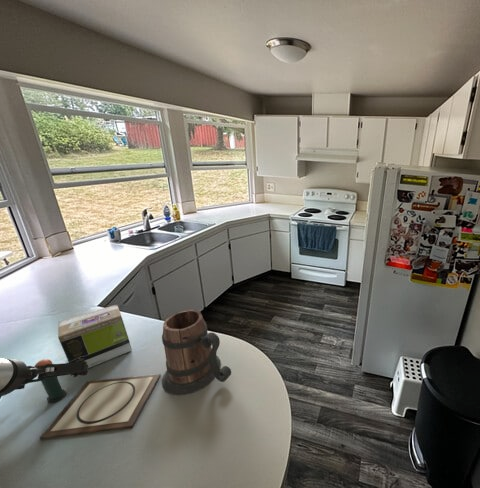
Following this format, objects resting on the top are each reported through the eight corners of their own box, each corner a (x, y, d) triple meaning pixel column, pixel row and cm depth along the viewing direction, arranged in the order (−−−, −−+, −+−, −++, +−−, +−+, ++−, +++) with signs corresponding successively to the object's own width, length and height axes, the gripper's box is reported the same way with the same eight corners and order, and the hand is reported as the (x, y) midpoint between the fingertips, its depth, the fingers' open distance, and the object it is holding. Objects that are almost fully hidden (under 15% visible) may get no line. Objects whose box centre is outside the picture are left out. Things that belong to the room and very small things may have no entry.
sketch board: (40, 440, 60) (38, 436, 60) (87, 383, 75) (86, 380, 74) (132, 427, 63) (131, 424, 63) (160, 375, 78) (160, 372, 78)
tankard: (148, 383, 75) (133, 329, 69) (194, 346, 90) (185, 298, 84) (208, 412, 68) (199, 354, 61) (248, 366, 83) (243, 315, 76)
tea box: (127, 336, 94) (117, 303, 89) (132, 351, 87) (122, 315, 82) (72, 357, 84) (57, 320, 79) (72, 375, 77) (57, 336, 72)
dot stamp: (44, 404, 68) (26, 367, 64) (55, 392, 72) (39, 356, 67) (59, 402, 69) (43, 365, 64) (69, 391, 72) (55, 355, 68)
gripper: (-109, 419, 46) (-10, 405, 65) (64, 380, 55) (108, 378, 73) (-93, 375, 49) (-2, 374, 67) (70, 345, 58) (111, 351, 76)
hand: (55, 376), depth 70 cm, fingers open, 13 cm apart
